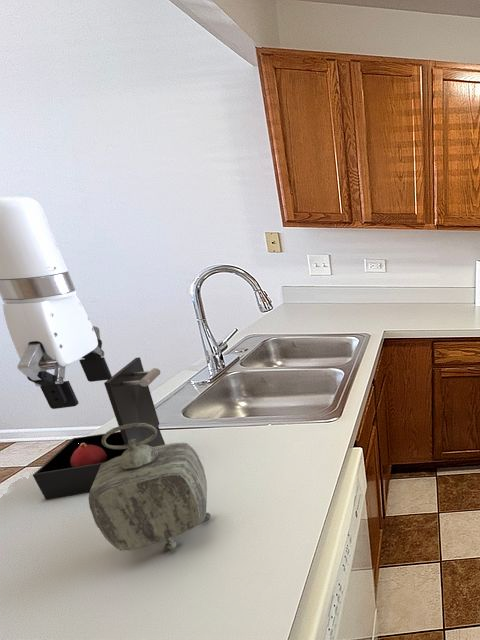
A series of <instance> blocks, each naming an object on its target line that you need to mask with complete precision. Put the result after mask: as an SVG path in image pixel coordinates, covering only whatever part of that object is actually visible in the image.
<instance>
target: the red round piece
mask: <svg viewBox="0 0 480 640" xmlns="http://www.w3.org/2000/svg"><path fill="white" fill-rule="evenodd" d="M106 459H107V454H106V453H105V451H104V450H103V449H102V448H100V447H98V446H95V445H87V444H85V443H81V444H80V446H79V447H78V448H77V449H76V450H75V451H74V453H73V455H72V457H71V460H70V463H71V466H72V467H79V466H85V465H92V464H98V463H104V462H106Z"/></svg>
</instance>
